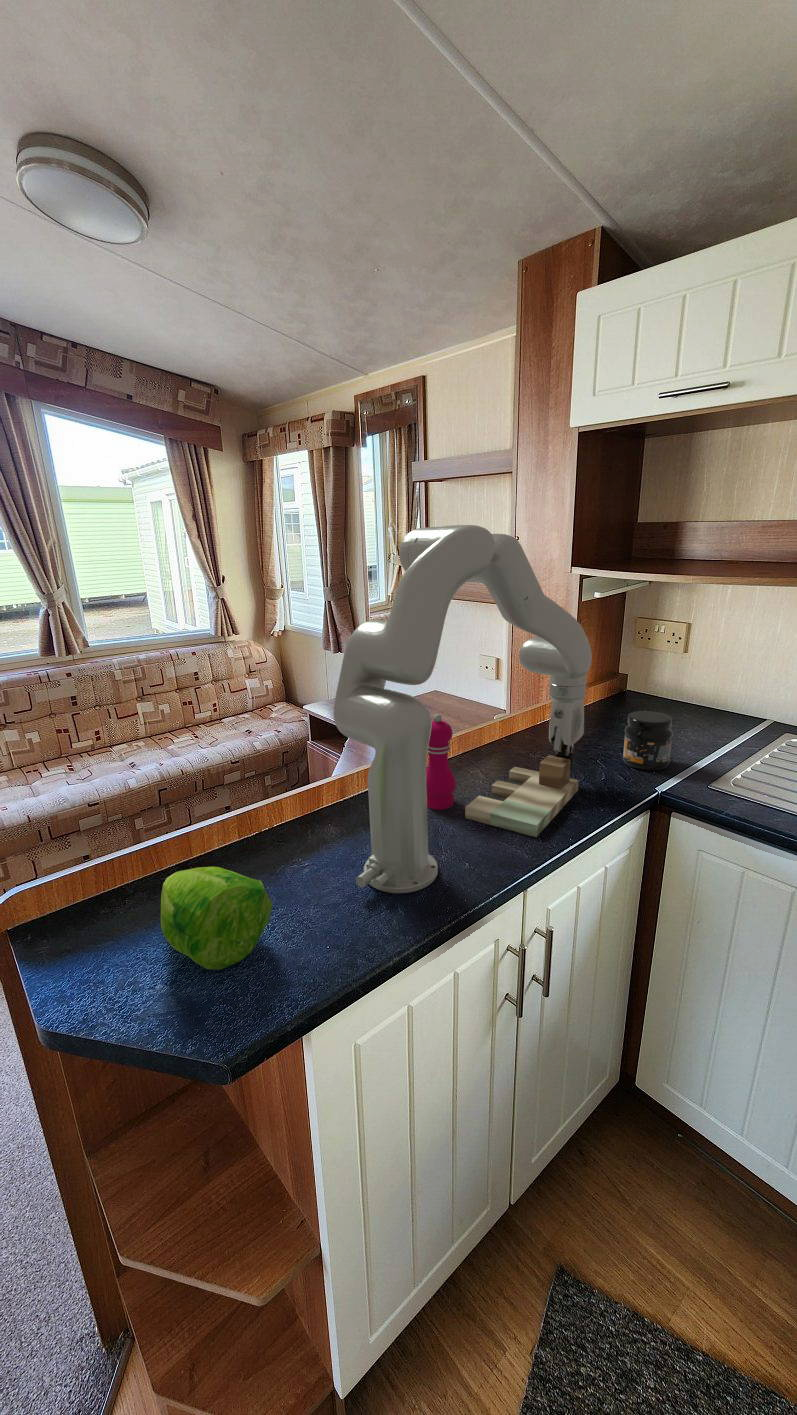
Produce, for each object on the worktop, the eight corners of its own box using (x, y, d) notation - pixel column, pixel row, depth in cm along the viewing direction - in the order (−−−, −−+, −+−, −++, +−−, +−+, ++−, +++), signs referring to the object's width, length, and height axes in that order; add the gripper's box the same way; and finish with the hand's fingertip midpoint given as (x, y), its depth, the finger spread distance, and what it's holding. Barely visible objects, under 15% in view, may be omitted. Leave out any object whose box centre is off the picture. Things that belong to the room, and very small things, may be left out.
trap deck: (536, 837, 107) (536, 825, 106) (465, 818, 115) (465, 806, 114) (577, 790, 126) (578, 779, 125) (514, 776, 134) (514, 766, 133)
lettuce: (219, 893, 93) (209, 828, 90) (293, 949, 80) (285, 875, 76) (133, 936, 84) (119, 865, 80) (201, 1008, 70) (187, 926, 67)
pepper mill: (454, 812, 118) (453, 720, 112) (419, 810, 119) (417, 719, 114) (457, 796, 125) (457, 709, 119) (424, 795, 126) (422, 708, 120)
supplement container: (613, 759, 142) (616, 713, 139) (649, 753, 145) (653, 708, 141) (641, 774, 132) (645, 725, 129) (679, 768, 135) (684, 720, 132)
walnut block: (561, 789, 121) (562, 767, 119) (538, 784, 123) (539, 762, 122) (569, 780, 125) (570, 759, 123) (547, 776, 127) (548, 755, 126)
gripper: (573, 701, 115) (568, 785, 120) (595, 685, 127) (590, 761, 132) (537, 696, 119) (534, 777, 124) (562, 681, 131) (558, 755, 136)
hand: (563, 769), depth 128 cm, fingers closed
